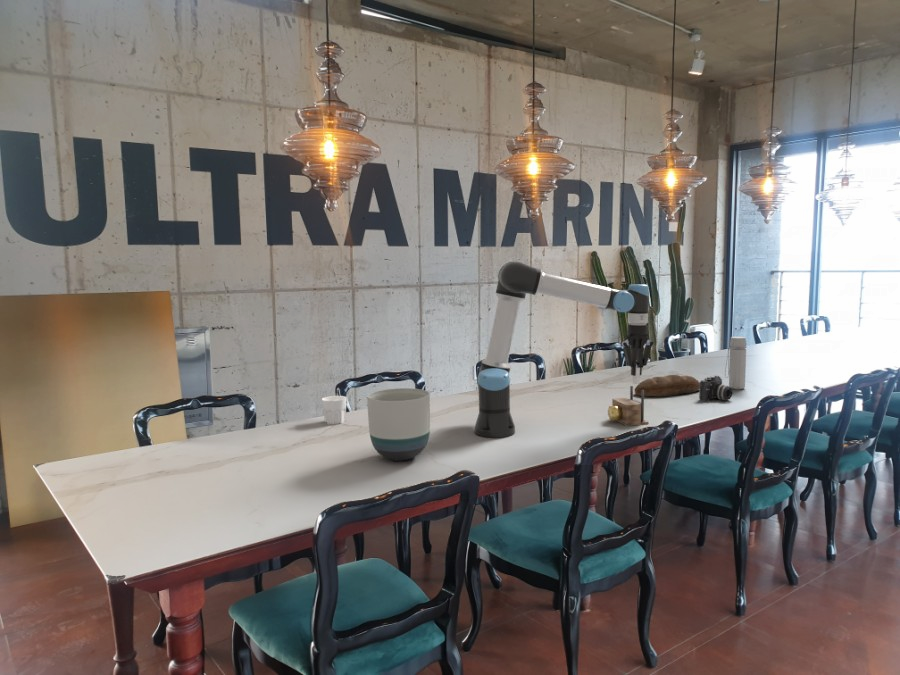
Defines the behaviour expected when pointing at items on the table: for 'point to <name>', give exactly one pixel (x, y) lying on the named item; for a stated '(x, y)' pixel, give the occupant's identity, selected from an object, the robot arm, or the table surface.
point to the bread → (667, 386)
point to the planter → (399, 422)
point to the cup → (334, 409)
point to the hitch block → (631, 409)
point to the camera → (714, 389)
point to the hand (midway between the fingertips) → (636, 383)
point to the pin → (615, 413)
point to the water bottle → (737, 363)
